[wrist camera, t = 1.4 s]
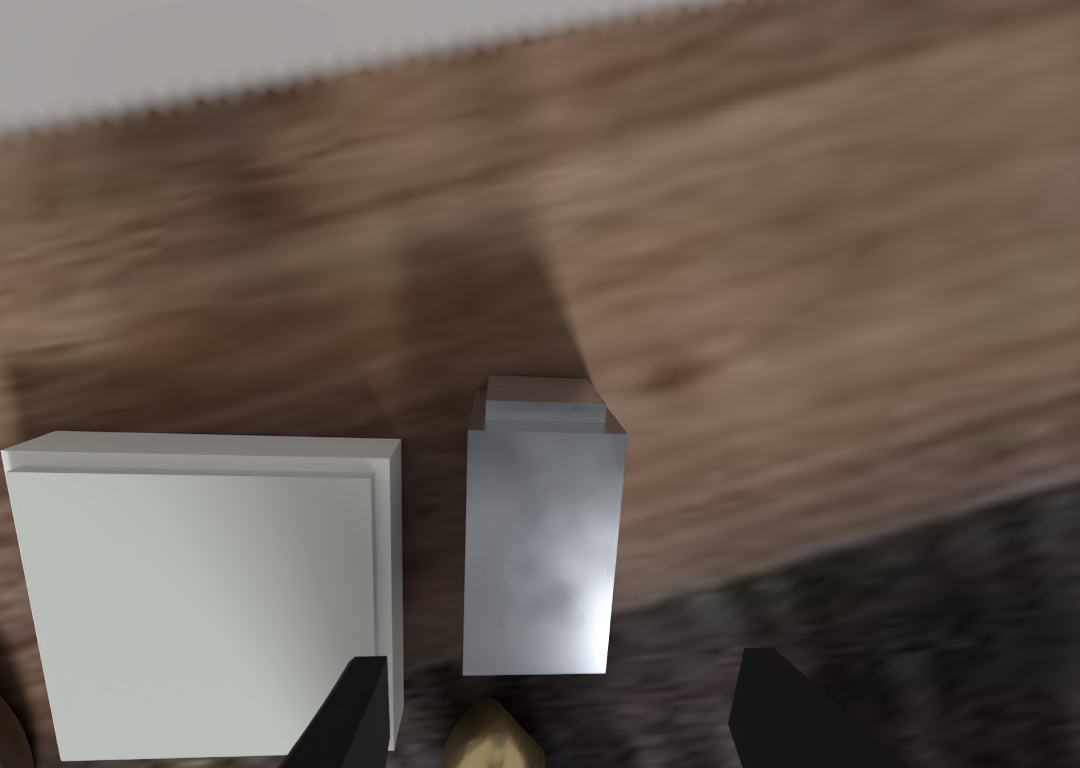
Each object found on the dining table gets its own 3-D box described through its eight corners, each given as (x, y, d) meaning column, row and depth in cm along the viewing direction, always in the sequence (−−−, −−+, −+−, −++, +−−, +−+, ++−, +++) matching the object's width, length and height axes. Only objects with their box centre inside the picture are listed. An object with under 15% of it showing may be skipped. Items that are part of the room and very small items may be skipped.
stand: (403, 706, 21) (391, 762, 19) (102, 712, 20) (48, 772, 18) (401, 439, 19) (386, 464, 16) (55, 430, 18) (-16, 456, 15)
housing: (580, 591, 21) (603, 688, 16) (471, 591, 21) (462, 691, 16) (596, 376, 19) (629, 413, 14) (476, 372, 19) (467, 409, 14)
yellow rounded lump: (481, 780, 22) (438, 738, 21) (532, 727, 23) (492, 684, 22) (497, 842, 19) (449, 795, 18) (555, 778, 20) (511, 731, 19)
